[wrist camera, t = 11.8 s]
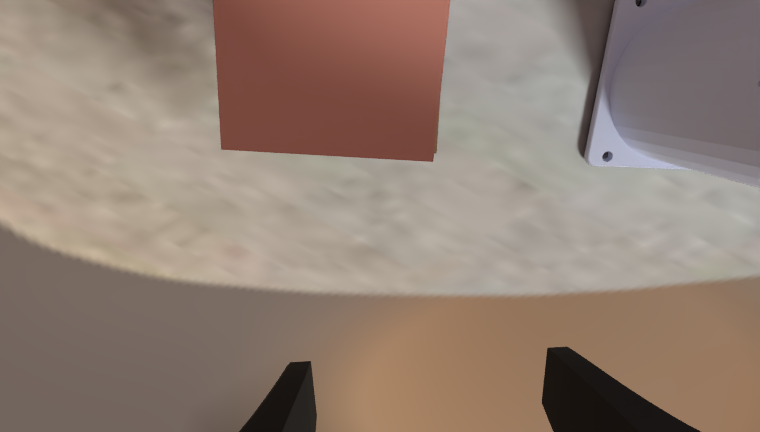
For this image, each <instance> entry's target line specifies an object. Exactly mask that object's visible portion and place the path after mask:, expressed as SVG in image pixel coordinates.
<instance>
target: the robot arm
mask: <svg viewBox="0 0 760 432" xmlns="http://www.w3.org/2000/svg"><path fill="white" fill-rule="evenodd" d="M605 152H608V157H607V158H606V159H605V160H603V159H602V156H603V154H604V153H605ZM584 158H585V161H586V162H587V163H588V164H590V165H594V166H611V167H638V168H666V169H691V170H695V171H698V172H702V173H706V174H710V175H713V176H717V177H721V178H724V179H728V180H732V181H735V182H739V183H743V184H746V185H750V186H754V187H757V188H760V0H641V5H640V6H639V7H638V6H637V5H636V0H615V4H614V9H613V14H612V19H611V24H610V29H609V34H608V39H607V44H606V49H605V54H604V59H603V64H602V69H601V74H600V79H599V84H598V89H597V94H596V99H595V104H594V109H593V114H592V119H591V124H590V129H589V135H588V140H587V145H586V150H585V155H584ZM542 404H543V407H544V409H545V412H546V414H547V417H548V419H549V422H550V424H551V427H552V429H553V431H554V432H700V431H699V430H697V429H695V428H693V427H691V426H689V425H687V424H686V423H684V422H682V421H680V420H678V419H677V418H675V417H673V416H672V415H670V414H668V413H667V412H665V411H663V410H662V409H660V408H659V407H657V406H655V405H654V404H652V403H650V402H649V401H647V400H646V399H644V398H642V397H641V396H639V395H638V394H636V393H635V392H633V391H632V390H630V389H629V388H627V387H626V386H624V385H622V384H621V383H620V382H618V381H617V380H615V379H614V378H612V377H611V376H609V375H608V374H607V373H605V372H604V371H602V370H601V369H599V368H598V367H597V366H595V365H594V364H592V363H591V362H589V361H588V360H587V359H585V358H584V357H582V356H581V355H579V354H578V353H576V352H575V351H573V350H572V349H570V348H568V347H555V348H548V349H547V358H546V367H545V377H544V386H543V396H542ZM316 418H317V414H316V405H315V395H314V386H313V377H312V368H311V361H306V362H290V364H289V365H287V367H286V368H285V370H284V372H283V373H282V375H281V376H280V378H279V379H278V381H277V382H276V384H275V385H274V387H273V388H272V389H271V391H270V392H269V394H268V395H267V396H266V398H265V399H264V401H263V402H262V403H261V405H260V406H259V407H258V409H257V410H256V411H255V413H254V414H253V415H252V416H251V418H250V419H249V420H248V422H247V423H246V424H245V425H244V426H243V427H242V429H241V430H240V431H239V432H315V431H316Z"/></svg>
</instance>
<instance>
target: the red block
mask: <svg viewBox="0 0 760 432" xmlns="http://www.w3.org/2000/svg"><path fill="white" fill-rule="evenodd" d="M449 7H450V0H213V9H214V27H215V45H216V63H217V81H218V99H219V117H220V135H221V149H222V150H239V151H257V152H274V153H291V154H309V155H326V156H343V157H361V158H378V159H395V160H413V161H430V162H433V157H434V148H435V139H436V129H437V120H438V110H439V101H440V92H441V82H442V73H443V63H444V54H445V45H446V35H447V26H448V17H449Z"/></svg>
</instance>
